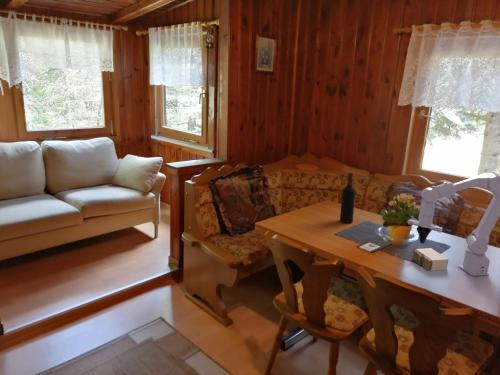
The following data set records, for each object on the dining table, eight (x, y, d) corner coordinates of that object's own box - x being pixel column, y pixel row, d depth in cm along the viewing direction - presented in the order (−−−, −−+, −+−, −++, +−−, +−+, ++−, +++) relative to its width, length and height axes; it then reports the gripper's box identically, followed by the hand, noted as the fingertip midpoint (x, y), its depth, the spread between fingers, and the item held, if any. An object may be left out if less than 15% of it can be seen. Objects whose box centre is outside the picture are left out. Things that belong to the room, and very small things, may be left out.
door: (421, 266, 167) (423, 256, 166) (419, 266, 167) (421, 256, 166) (413, 258, 175) (415, 249, 173) (411, 258, 175) (413, 249, 173)
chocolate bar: (392, 243, 191) (372, 252, 180) (392, 244, 191) (372, 253, 180) (376, 237, 198) (356, 246, 186) (376, 239, 198) (356, 247, 187)
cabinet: (446, 269, 165) (448, 259, 163) (426, 270, 163) (428, 260, 161) (429, 257, 176) (430, 248, 175) (410, 259, 174) (411, 249, 173)
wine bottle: (337, 220, 225) (341, 172, 217) (347, 218, 228) (351, 171, 220) (345, 224, 218) (349, 175, 211) (355, 222, 221) (360, 174, 214)
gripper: (446, 216, 163) (442, 245, 166) (414, 208, 173) (410, 235, 176) (440, 220, 158) (435, 249, 161) (407, 211, 168) (403, 239, 172)
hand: (422, 242), depth 169 cm, fingers closed
